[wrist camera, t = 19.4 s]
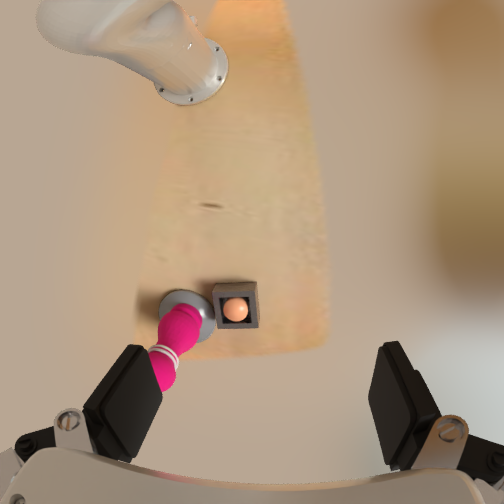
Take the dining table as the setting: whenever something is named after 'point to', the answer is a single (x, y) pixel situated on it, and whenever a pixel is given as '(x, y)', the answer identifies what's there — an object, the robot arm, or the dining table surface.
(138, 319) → the dining table surface
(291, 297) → the dining table surface
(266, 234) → the dining table surface
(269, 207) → the dining table surface
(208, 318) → the pad
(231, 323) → the button housing
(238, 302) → the button
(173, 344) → the pepper mill
